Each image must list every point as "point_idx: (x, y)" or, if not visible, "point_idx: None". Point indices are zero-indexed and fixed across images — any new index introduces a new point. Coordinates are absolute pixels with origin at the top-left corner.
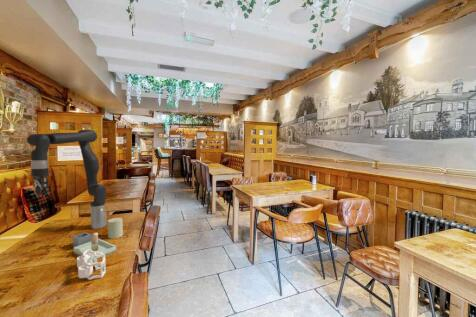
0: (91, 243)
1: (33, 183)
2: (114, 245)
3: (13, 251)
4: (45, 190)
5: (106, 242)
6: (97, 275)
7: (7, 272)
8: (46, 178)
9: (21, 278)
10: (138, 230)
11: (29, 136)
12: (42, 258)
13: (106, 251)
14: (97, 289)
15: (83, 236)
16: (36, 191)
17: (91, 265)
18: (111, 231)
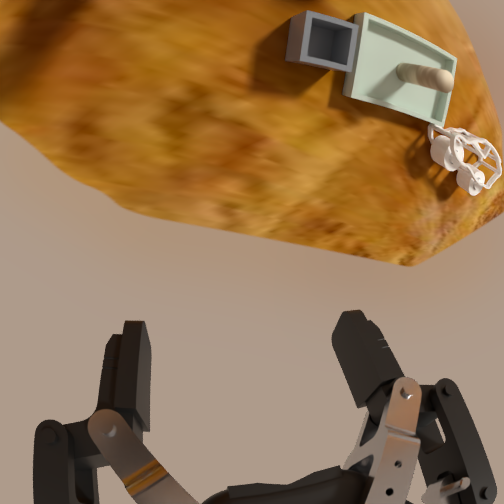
0: (420, 85)
1: (76, 488)
2: (450, 54)
3: (121, 192)
4: (396, 368)
5: (416, 37)
6: (477, 166)
7: (282, 236)
8: (487, 499)
9: (347, 229)
10: None
11: None
12: (284, 160)
13: None
14: None
15: (350, 49)
16: (149, 381)
17: (489, 184)
18: None
